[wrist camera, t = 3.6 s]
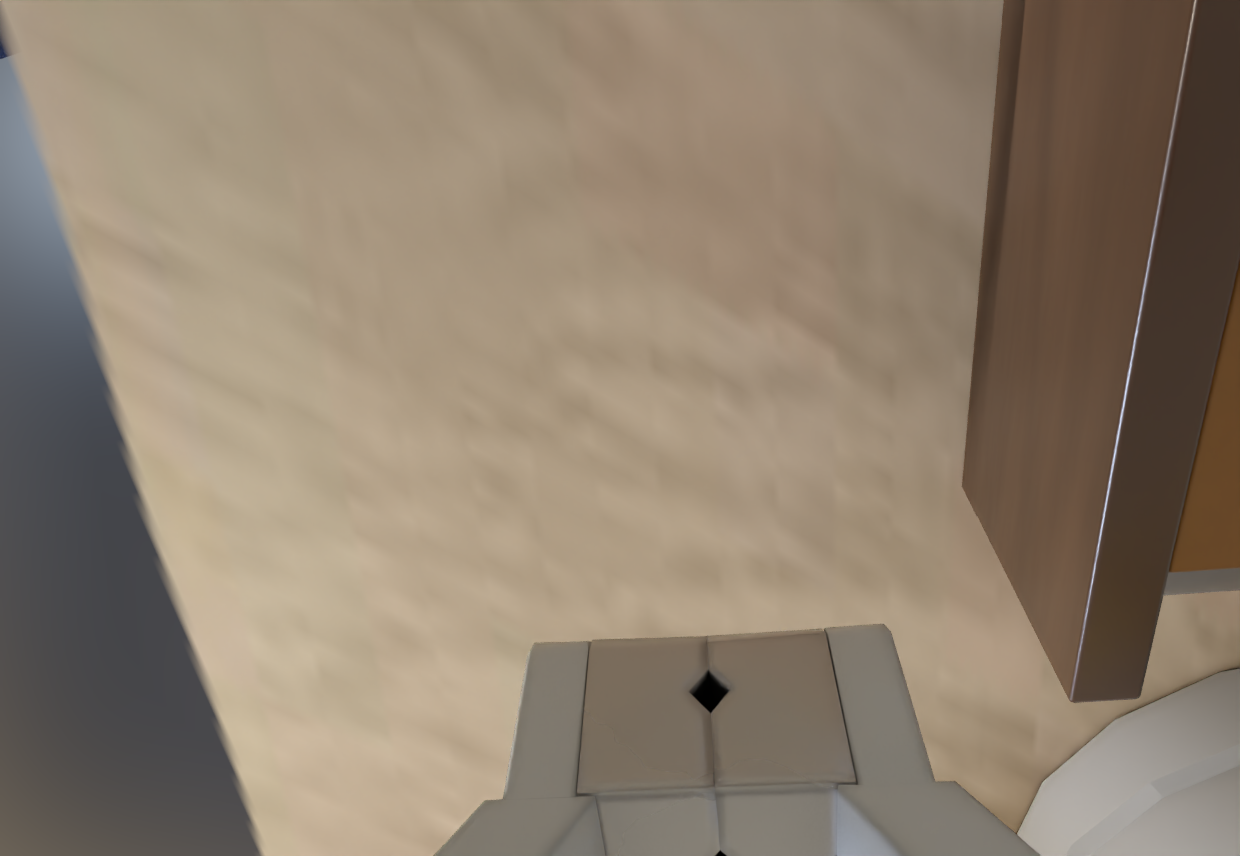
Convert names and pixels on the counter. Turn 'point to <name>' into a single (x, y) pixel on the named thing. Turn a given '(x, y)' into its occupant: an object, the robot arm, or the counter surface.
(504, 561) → the counter surface
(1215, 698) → the soap bottle
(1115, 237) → the tray
